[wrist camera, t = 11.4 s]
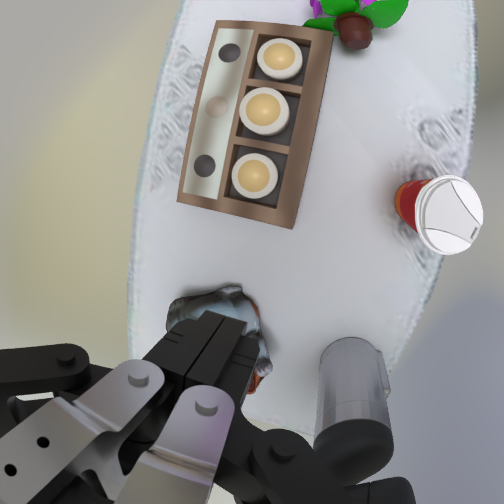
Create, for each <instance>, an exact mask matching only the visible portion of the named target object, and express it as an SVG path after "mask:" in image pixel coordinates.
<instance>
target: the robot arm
mask: <svg viewBox="0 0 504 504" xmlns="http://www.w3.org/2000/svg"><path fill="white" fill-rule="evenodd" d="M247 324H248V322H245V321H242V320H239V319H236V318H232V317H229V316H226V315H222V314H219V313H216V312H213V311H210V310H205V311H204V312H203V314H202V315H201V316H200V317H199V318H198V320H197V321H196V320H193V319H190V318H187V319H185V320H182V321H180V322H177V323H176V324H175V325H174V326H173V327H172V328H171V329H170V330H169V332H167V333H166V334H165V336H164V337H163V338H162V339H161V340H160V341H159V342H158V343H157V344H156V345H155V346H154V347H153V348H152V349H151V350H150V351H149V352H148V353H147V354H146V355H145V357H144V358H143V359H142V360H138V359H135V360H128V361H125V362H123V363H121V364H119V365H118V366H117V367H115V368H114V369H111V368H106V367H102V366H98V365H93V364H90V361H89V356H88V354H87V352H86V351H85V350H84V349H83V348H81V347H80V346H77V345H74V344H67V343H65V344H56V345H46V346H37V347H26V348H15V349H2V350H0V504H207V503H208V500H209V496H210V493H211V490H212V487H213V484H214V483H216V484H217V485H219V486H220V487H222V488H223V489H225V490H226V491H228V492H230V493H231V494H233V495H234V499H235V502H236V504H416V501H415V496H414V492H413V490H412V486H411V484H410V483H409V481H408V480H406V479H405V478H403V477H393V478H387V479H383V480H377V481H373V482H371V483H370V482H367V483H362V484H357V483H359V482H361V481H363V480H364V479H366V478H368V477H370V476H372V475H373V474H375V473H377V472H378V471H380V470H381V469H382V468H383V467H385V465H387V463H388V462H389V461H390V459H391V457H392V455H393V451H394V443H393V436H392V431H391V424H390V418H389V413H388V407H387V402H386V398H387V397H388V395H389V393H390V385H389V380H388V376H387V372H386V368H385V364H384V360H383V356H382V352H379V351H376V350H375V349H374V347H373V346H372V345H371V344H370V343H369V342H367V341H365V340H363V339H359V338H344V339H341V340H338V341H336V342H334V343H332V344H331V345H330V346H328V347H327V349H326V350H325V351H324V353H323V355H322V357H321V363H320V377H319V391H318V403H317V415H316V425H315V435H314V445H313V449H312V447H311V446H310V445H309V443H308V442H307V441H306V440H305V439H304V438H303V437H302V436H300V435H299V434H297V433H295V432H293V431H290V430H286V429H271V430H267V431H262V430H261V429H259V428H257V427H255V426H254V425H252V424H251V423H250V422H249V421H247V419H246V418H245V417H244V415H243V414H242V411H241V407H242V405H243V402H244V400H245V397H246V394H247V392H248V389H249V387H250V384H251V381H252V378H253V374H254V371H255V367H256V364H257V360H258V356H259V353H260V347H259V343H258V340H256V339H253V338H250V337H246V336H245V334H246V330H247ZM46 392H53V395H54V398H46V399H38V400H28V401H22V400H20V399H18V398H17V397H16V396H18V395H28V394H37V393H46ZM356 484H357V485H356Z"/></svg>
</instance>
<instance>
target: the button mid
mask: <svg viewBox="0 0 504 504" xmlns="http://www.w3.org/2000/svg"><path fill="white" fill-rule="evenodd" d="M239 113H240V118H241V120H242V122H243V124H244V125H245V126H246V127H247V128H249V129H250V130H252V131H254V132H255V133H257V134H259V135H263V136H272V135H276V134H278V133H280V132H281V131H283V130H284V129H285V128H286V126H287V125H288V123H289V120H290V108H289V106H288V104H287V102H286V100H285V98H284V97H283V96H282V94H280V93H279V92H278V91H276V90H274V89H272V88H267V87H261V88H257V89H254V90H252V91H250V92H249V93H247V94H246V95H245V97H244V98H243V99H242V101H241V104H240V108H239Z"/></svg>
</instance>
